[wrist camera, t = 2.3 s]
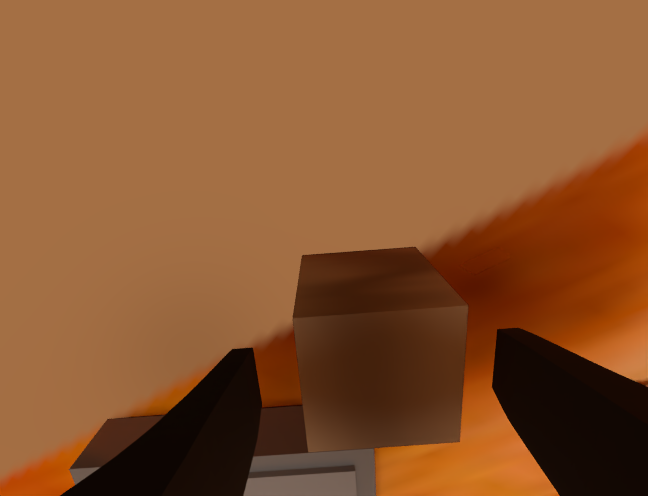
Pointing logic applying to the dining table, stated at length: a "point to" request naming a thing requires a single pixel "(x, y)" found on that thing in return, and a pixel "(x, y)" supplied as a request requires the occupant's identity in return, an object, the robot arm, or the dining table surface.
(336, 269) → the block
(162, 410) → the dining table surface
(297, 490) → the tray
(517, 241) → the dining table surface
